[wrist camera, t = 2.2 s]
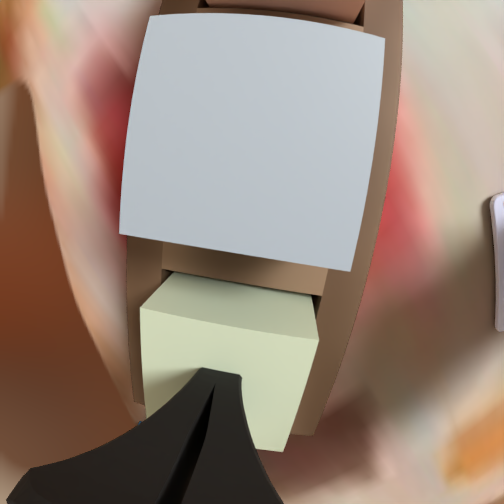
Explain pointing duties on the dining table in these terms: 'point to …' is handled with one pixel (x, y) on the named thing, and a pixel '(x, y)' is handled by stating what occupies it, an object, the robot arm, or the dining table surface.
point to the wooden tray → (276, 271)
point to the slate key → (252, 136)
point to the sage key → (231, 346)
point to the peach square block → (300, 7)
